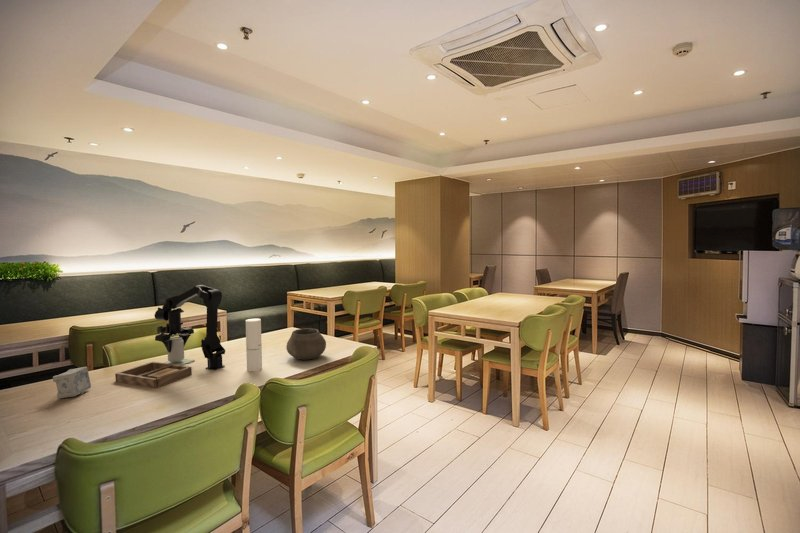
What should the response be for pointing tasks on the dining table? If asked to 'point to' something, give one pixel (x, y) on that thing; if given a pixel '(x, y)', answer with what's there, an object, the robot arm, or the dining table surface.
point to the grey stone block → (72, 382)
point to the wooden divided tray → (144, 380)
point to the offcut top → (162, 373)
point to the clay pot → (306, 344)
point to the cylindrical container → (253, 344)
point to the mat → (180, 362)
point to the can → (176, 350)
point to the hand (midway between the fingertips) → (175, 350)
